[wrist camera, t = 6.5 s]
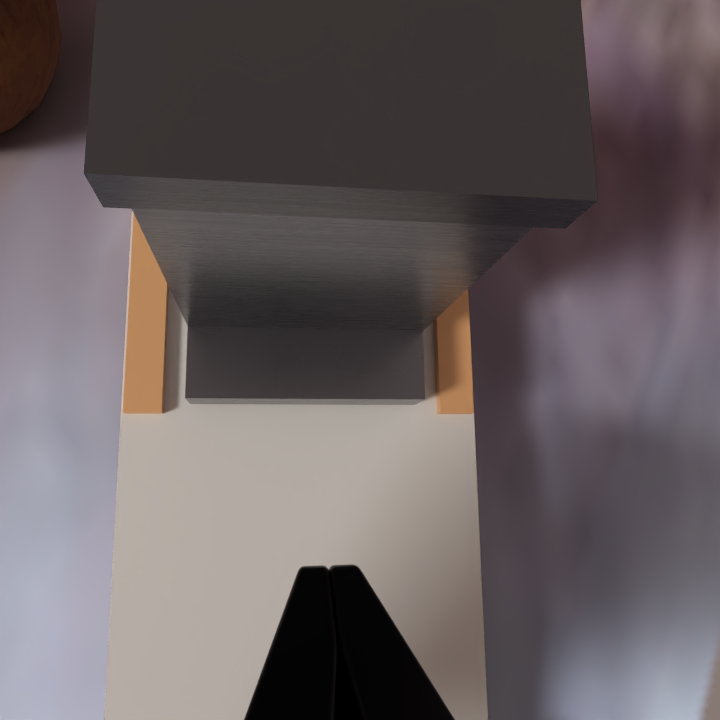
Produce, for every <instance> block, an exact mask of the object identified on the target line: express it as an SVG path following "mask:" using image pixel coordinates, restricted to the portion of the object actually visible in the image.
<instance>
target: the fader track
mask: <svg viewBox="0 0 720 720" xmlns="http://www.w3.org/2000/svg"><path fill="white" fill-rule="evenodd" d="M187 330H188V326H187V324H186V322H185V320H184V318H183V315H182V313H181V311H180V309H179V307H178V305H177V303H176V301H175V299H174V297H173V295H172V292H171V290H170V288H169V286H168V284H167V282H166V280H165V278H164V276H163V274H162V271H161V269H160V267H159V265H158V263H157V261H156V259H155V257H154V255H153V253H152V251H151V248H150V246H149V244H148V242H147V240H146V238H145V236H144V234H143V232H142V230H141V227H140V225H139V223H138V221H137V219H136V217H135V215H134V213H133V211H132V221H131V239H130V257H129V276H128V294H127V312H126V331H125V349H124V367H123V386H122V404H121V422H120V441H119V459H118V477H117V496H116V514H115V532H114V551H113V569H112V587H111V606H110V624H109V642H108V660H107V679H106V697H105V715H104V720H244V718H245V715H246V713H247V710H248V707H249V704H250V702H251V699H252V696H253V693H254V691H255V688H256V685H257V682H258V680H259V677H260V674H261V671H262V669H263V666H264V663H265V660H266V658H267V655H268V652H269V649H270V647H271V644H272V641H273V638H274V635H275V633H276V630H277V627H278V624H279V622H280V619H281V616H282V613H283V611H284V608H285V605H286V602H287V600H288V597H289V594H290V591H291V589H292V586H293V583H294V580H295V578H296V575H297V572H298V570H299V569H300V567H302V566H319V565H323V566H326V567H327V568H328V570H329V568H330V567H331V566H332V565H349V564H353V565H356V566H358V567H359V568H360V569H361V571H362V572H363V574H364V576H365V577H366V579H367V580H368V582H369V584H370V585H371V587H372V588H373V590H374V591H375V593H376V595H377V596H378V598H379V599H380V601H381V603H382V604H383V606H384V607H385V609H386V611H387V612H388V614H389V615H390V617H391V619H392V620H393V622H394V623H395V625H396V627H397V628H398V630H399V631H400V633H401V635H402V636H403V638H404V639H405V641H406V643H407V644H408V646H409V647H410V649H411V650H412V652H413V654H414V655H415V657H416V658H417V660H418V662H419V663H420V665H421V666H422V668H423V670H424V671H425V673H426V674H427V676H428V678H429V679H430V681H431V682H432V684H433V686H434V687H435V689H436V690H437V692H438V694H439V695H440V697H441V698H442V700H443V702H444V703H445V705H446V706H447V708H448V709H449V711H450V713H451V714H452V716H453V717H454V719H455V720H488V709H487V687H486V665H485V643H484V622H483V600H482V578H481V556H480V534H479V513H478V491H477V469H476V447H475V425H474V404H473V382H472V360H471V338H470V316H469V295H468V289H467V290H466V291H465V292H464V293H463V294H462V295H461V296H460V297H459V298H458V299H457V300H455V301H454V302H453V303H452V304H451V305H450V306H449V307H448V308H447V309H446V310H445V311H444V312H443V313H442V314H441V315H440V316H439V317H438V318H436V319H435V320H434V321H433V322H432V323H431V324H430V325H429V326H428V327H427V328H426V329H425V330H424V331H423V344H424V375H425V400H423V401H421V402H419V403H417V404H416V405H298V404H190V403H189V402H188V401H187V400H186V399H185V385H186V357H187Z"/></svg>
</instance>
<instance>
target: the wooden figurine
mask: <svg viewBox="0 0 720 720" xmlns="http://www.w3.org/2000/svg"><path fill="white" fill-rule="evenodd" d="M60 42H61V32H60V26H59V20H58V14H57V8H56V2H55V0H0V133H2V132H5V131H7V130H9V129H11V128H13V127H14V126H15V125H17V124H18V123H19V122H20V121H21V120H23V119H24V118H25V117H26V116H28V115H29V114H30V113H31V112H33V111H34V110H35V109H36V108H37V107H39V106H40V104H41V102H42V100H43V97H44V95H45V93H46V91H47V89H48V87H49V85H50V83H51V81H52V79H53V76H54V73H55V70H56V66H57V63H58V59H59V50H60Z"/></svg>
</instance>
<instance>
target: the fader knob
mask: <svg viewBox="0 0 720 720" xmlns="http://www.w3.org/2000/svg"><path fill="white" fill-rule="evenodd" d="M84 175H85V176H86V178H87V180H88V181H89V183H90V185H91V187H92V188H93V190H94V192H95V194H96V195H97V197H98V199H99V201H100V202H101V204H102V206H103V207H110V208H131V209H132V211H133V213H134V215H135V217H136V219H137V221H138V223H139V225H140V227H141V230H142V232H143V234H144V236H145V238H146V240H147V242H148V244H149V246H150V248H151V251H152V253H153V255H154V257H155V259H156V261H157V263H158V265H159V267H160V269H161V271H162V274H163V276H164V278H165V280H166V282H167V284H168V286H169V288H170V290H171V292H172V295H173V297H174V299H175V301H176V303H177V305H178V307H179V309H180V311H181V313H182V315H183V318H184V320H185V322H186V324H187V326H188V330H187V357H186V385H185V399H186V400H187V401H188V402H189V403H190V404H298V405H416V404H417V403H419V402H421V401H423V400H425V375H424V344H423V331H424V330H425V329H426V328H427V327H428V326H429V325H430V324H431V323H432V322H433V321H434V320H435V319H436V318H438V317H439V316H440V315H441V314H442V313H443V312H444V311H445V310H446V309H447V308H448V307H449V306H450V305H451V304H452V303H453V302H454V301H455V300H457V299H458V298H459V297H460V296H461V295H462V294H463V293H464V292H465V291H466V290H467V289H468V288H469V287H470V286H471V285H472V284H473V283H474V282H476V281H477V280H478V279H479V278H480V277H481V276H482V275H483V274H484V273H485V272H486V271H487V270H488V269H489V268H490V267H491V266H492V265H493V264H494V263H496V262H497V261H498V260H499V259H500V258H501V257H502V256H503V255H504V254H505V253H506V252H507V251H508V250H509V249H510V248H511V247H512V246H513V245H515V244H516V243H517V242H518V241H519V240H520V239H521V238H522V237H523V236H524V235H525V234H526V233H527V232H528V231H529V230H530V229H531V228H532V227H545V228H566V227H567V226H569V225H570V224H571V223H572V222H573V221H575V220H576V219H577V218H578V217H579V216H580V215H582V214H583V213H584V212H585V211H586V210H588V209H589V208H590V207H591V206H592V205H594V204H595V203H596V202H597V201H598V196H597V184H596V173H595V161H594V150H593V138H592V127H591V115H590V103H589V92H588V80H587V69H586V57H585V46H584V34H583V22H582V11H581V0H96V8H95V22H94V37H93V51H92V65H91V79H90V94H89V108H88V122H87V137H86V151H85V165H84Z"/></svg>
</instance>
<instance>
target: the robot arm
mask: <svg viewBox="0 0 720 720" xmlns="http://www.w3.org/2000/svg"><path fill="white" fill-rule="evenodd" d="M244 720H455V719H454V717H453V716H452V714H451V713H450V711H449V709H448V708H447V706H446V705H445V703H444V702H443V700H442V698H441V697H440V695H439V694H438V692H437V690H436V689H435V687H434V686H433V684H432V682H431V681H430V679H429V678H428V676H427V674H426V673H425V671H424V670H423V668H422V666H421V665H420V663H419V662H418V660H417V658H416V657H415V655H414V654H413V652H412V650H411V649H410V647H409V646H408V644H407V643H406V641H405V639H404V638H403V636H402V635H401V633H400V631H399V630H398V628H397V627H396V625H395V623H394V622H393V620H392V619H391V617H390V615H389V614H388V612H387V611H386V609H385V607H384V606H383V604H382V603H381V601H380V599H379V598H378V596H377V595H376V593H375V591H374V590H373V588H372V587H371V585H370V584H369V582H368V580H367V579H366V577H365V576H364V574H363V572H362V571H361V569H360V568H359V567H358V566H356V565H353V564H349V565H332V566H331V567H330V568H329V570H328V568H327V567H326V566H323V565H319V566H302V567H300V569H299V570H298V572H297V575H296V578H295V580H294V583H293V586H292V589H291V591H290V594H289V597H288V600H287V602H286V605H285V608H284V611H283V613H282V616H281V619H280V622H279V624H278V627H277V630H276V633H275V635H274V638H273V641H272V644H271V647H270V649H269V652H268V655H267V658H266V660H265V663H264V666H263V669H262V671H261V674H260V677H259V680H258V682H257V685H256V688H255V691H254V693H253V696H252V699H251V702H250V704H249V707H248V710H247V713H246V715H245V718H244Z"/></svg>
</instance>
